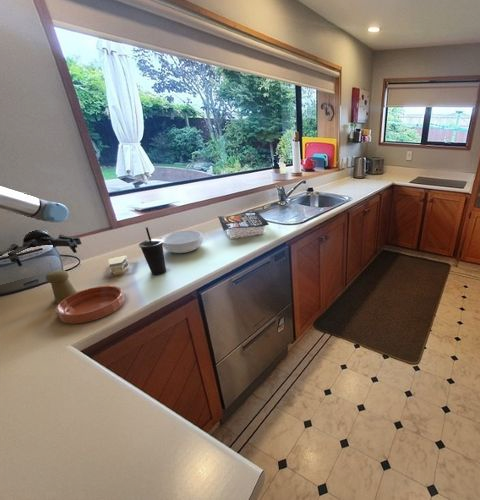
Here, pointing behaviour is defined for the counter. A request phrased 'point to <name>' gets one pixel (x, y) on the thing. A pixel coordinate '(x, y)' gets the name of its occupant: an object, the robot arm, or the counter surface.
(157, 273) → the drinking cup
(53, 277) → the cork
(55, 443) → the counter surface
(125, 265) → the sandwich
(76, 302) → the dish
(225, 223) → the food packaging
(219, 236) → the counter surface
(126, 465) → the counter surface
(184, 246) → the cereal bowl
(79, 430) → the counter surface
